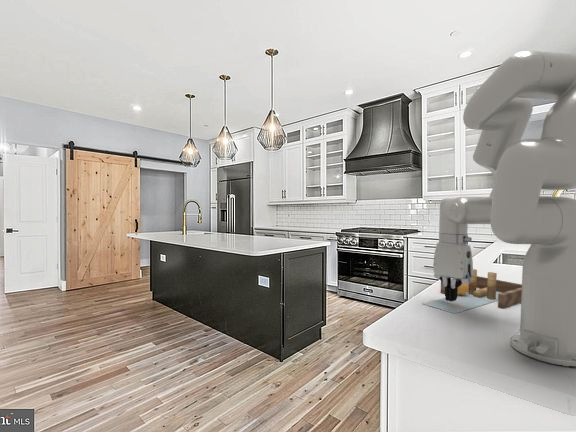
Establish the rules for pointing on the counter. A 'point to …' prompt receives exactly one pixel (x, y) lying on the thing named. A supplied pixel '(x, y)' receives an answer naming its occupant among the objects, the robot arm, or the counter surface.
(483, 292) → the pin front
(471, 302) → the lane
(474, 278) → the pin left
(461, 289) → the ball
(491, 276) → the pin right
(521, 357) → the counter surface
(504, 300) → the fence
